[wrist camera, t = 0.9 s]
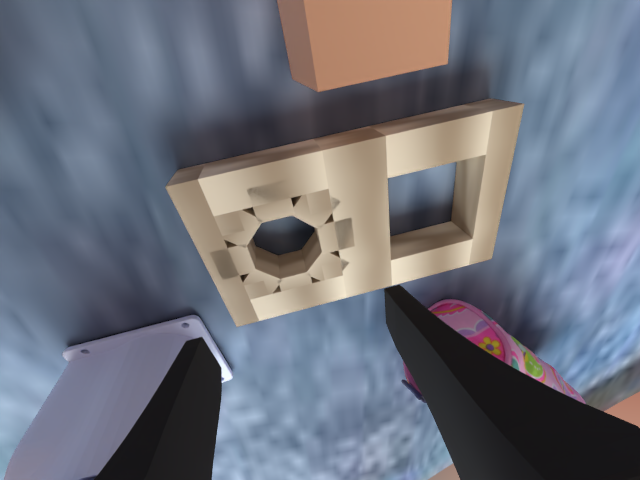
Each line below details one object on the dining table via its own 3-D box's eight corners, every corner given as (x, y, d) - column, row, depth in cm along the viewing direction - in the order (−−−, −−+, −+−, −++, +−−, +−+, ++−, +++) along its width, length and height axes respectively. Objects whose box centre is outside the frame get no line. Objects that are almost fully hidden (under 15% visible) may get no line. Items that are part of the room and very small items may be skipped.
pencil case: (378, 336, 26) (426, 446, 19) (458, 273, 24) (550, 370, 16) (478, 395, 37) (535, 480, 29) (542, 355, 34) (622, 437, 27)
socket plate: (238, 300, 21) (236, 326, 19) (177, 169, 15) (165, 186, 13) (469, 240, 22) (491, 258, 20) (490, 98, 16) (524, 103, 14)
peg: (292, 79, 14) (317, 91, 8) (271, -30, 12) (285, -116, 6) (369, 62, 14) (447, 63, 8) (362, -47, 12) (462, -146, 6)
